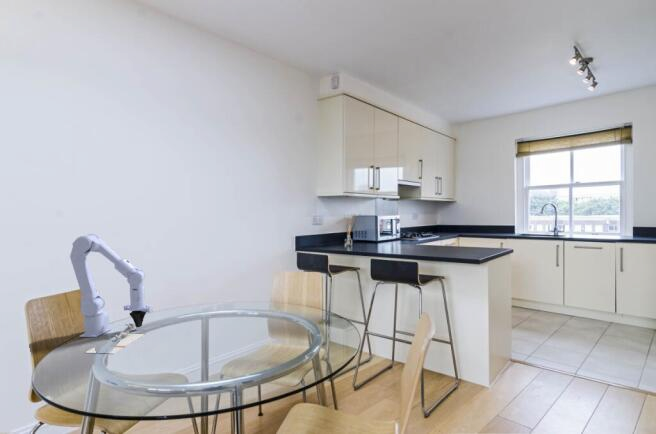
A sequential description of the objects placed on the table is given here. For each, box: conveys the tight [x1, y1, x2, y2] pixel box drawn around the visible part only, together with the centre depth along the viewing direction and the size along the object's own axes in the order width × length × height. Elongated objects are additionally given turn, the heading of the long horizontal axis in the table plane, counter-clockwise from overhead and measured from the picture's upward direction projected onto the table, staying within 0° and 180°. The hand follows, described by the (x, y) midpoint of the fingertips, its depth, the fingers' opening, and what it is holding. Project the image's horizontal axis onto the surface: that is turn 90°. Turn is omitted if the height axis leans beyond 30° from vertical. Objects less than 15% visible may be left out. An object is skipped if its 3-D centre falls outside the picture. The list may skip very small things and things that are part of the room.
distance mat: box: [84, 332, 147, 355], centre depth 145 cm, size 20×12×1 cm, turn 174°
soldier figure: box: [111, 323, 136, 342], centre depth 150 cm, size 8×5×12 cm
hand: (138, 326), depth 159 cm, fingers closed
